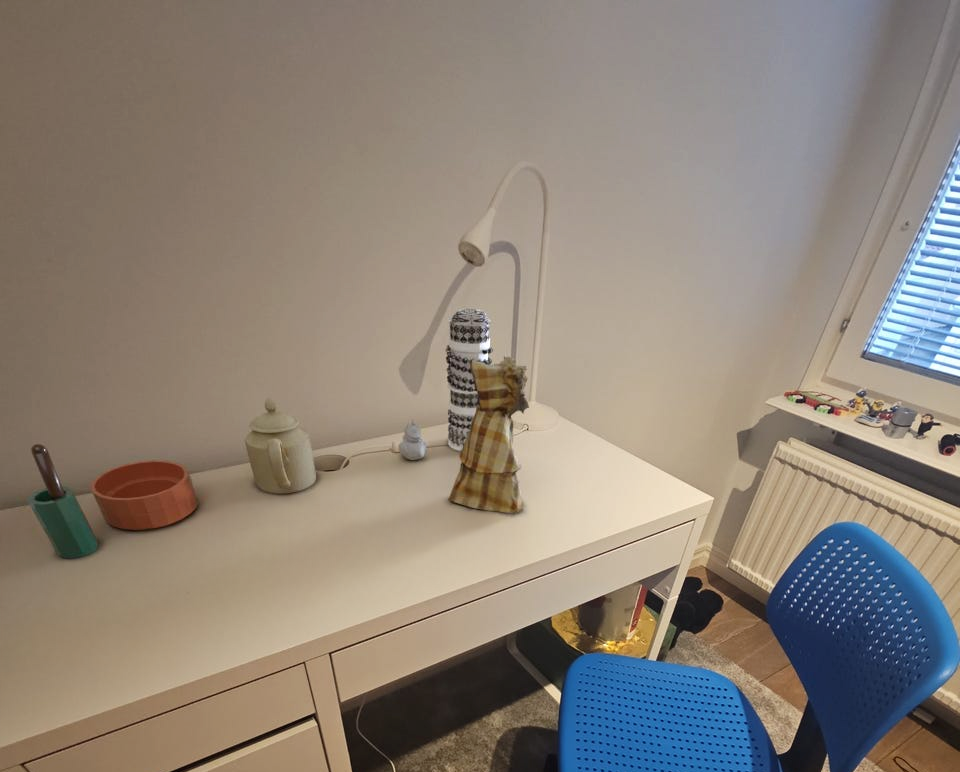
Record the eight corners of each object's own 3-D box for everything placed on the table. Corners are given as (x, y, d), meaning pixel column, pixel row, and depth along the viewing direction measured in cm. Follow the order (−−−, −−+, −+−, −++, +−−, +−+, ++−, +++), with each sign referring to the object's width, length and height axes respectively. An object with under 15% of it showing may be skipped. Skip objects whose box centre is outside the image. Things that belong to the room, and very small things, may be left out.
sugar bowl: (338, 490, 102) (325, 406, 92) (282, 508, 96) (262, 421, 86) (299, 463, 110) (283, 383, 100) (245, 478, 105) (223, 395, 95)
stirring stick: (68, 548, 84) (25, 446, 74) (75, 542, 85) (34, 441, 75) (80, 549, 84) (39, 448, 74) (87, 543, 85) (47, 442, 75)
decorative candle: (475, 432, 125) (478, 304, 108) (497, 447, 119) (503, 314, 102) (439, 439, 121) (436, 308, 104) (459, 455, 115) (460, 319, 99)
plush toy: (468, 466, 109) (465, 335, 88) (537, 479, 106) (550, 347, 86) (445, 513, 101) (436, 381, 81) (519, 528, 99) (528, 396, 78)
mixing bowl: (88, 532, 89) (71, 497, 85) (132, 491, 99) (118, 458, 95) (177, 535, 89) (164, 501, 85) (211, 494, 100) (201, 461, 96)
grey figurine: (406, 465, 111) (404, 425, 105) (394, 453, 115) (391, 414, 110) (431, 461, 113) (430, 421, 107) (418, 449, 117) (416, 410, 112)
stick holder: (50, 558, 83) (18, 503, 77) (70, 539, 87) (42, 485, 81) (86, 559, 83) (58, 504, 77) (105, 540, 87) (79, 487, 81)
